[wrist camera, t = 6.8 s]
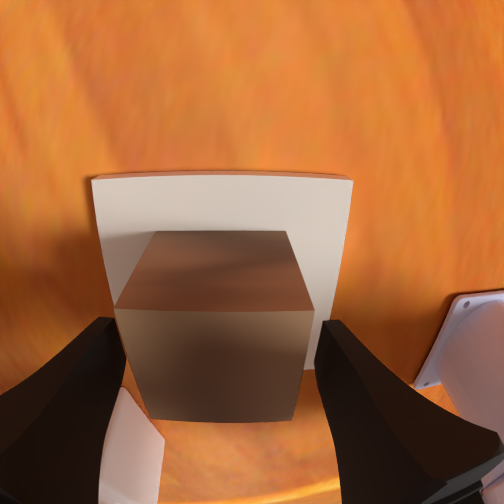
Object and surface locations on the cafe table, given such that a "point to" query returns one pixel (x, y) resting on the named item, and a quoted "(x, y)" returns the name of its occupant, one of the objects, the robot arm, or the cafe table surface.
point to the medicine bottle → (130, 456)
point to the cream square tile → (228, 220)
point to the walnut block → (217, 326)
